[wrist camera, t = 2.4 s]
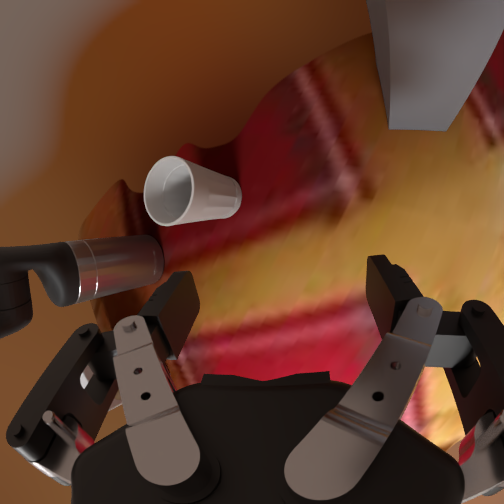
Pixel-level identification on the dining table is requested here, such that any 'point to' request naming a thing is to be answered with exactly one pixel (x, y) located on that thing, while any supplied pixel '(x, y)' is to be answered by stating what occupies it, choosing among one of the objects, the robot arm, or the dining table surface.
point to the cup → (188, 193)
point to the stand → (431, 56)
